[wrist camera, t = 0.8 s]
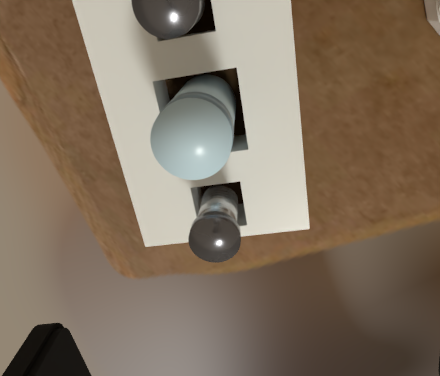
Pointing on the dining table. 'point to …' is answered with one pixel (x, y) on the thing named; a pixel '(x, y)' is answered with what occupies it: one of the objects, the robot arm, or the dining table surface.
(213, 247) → the dark capped shaker
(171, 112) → the cylinder
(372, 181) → the dining table surface
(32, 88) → the dining table surface
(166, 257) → the dining table surface
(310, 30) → the dining table surface
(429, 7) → the white cup
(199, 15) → the grey dome-capped cylinder
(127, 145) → the housing
